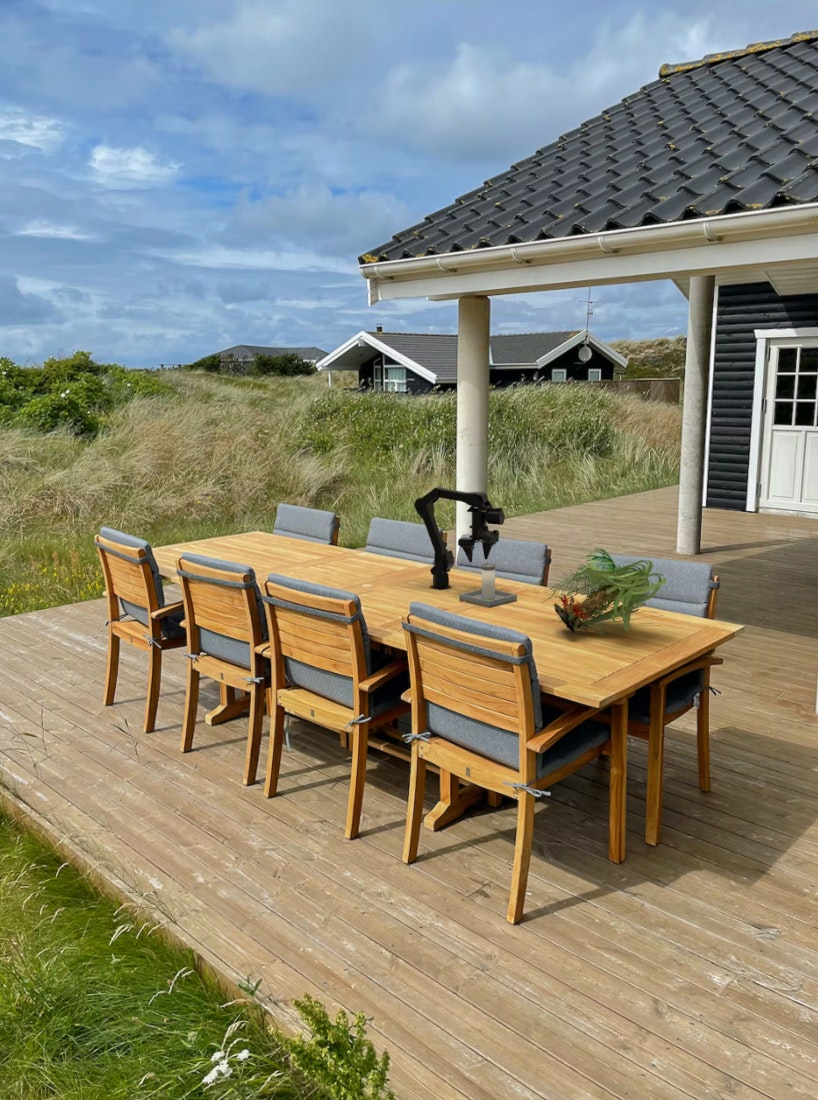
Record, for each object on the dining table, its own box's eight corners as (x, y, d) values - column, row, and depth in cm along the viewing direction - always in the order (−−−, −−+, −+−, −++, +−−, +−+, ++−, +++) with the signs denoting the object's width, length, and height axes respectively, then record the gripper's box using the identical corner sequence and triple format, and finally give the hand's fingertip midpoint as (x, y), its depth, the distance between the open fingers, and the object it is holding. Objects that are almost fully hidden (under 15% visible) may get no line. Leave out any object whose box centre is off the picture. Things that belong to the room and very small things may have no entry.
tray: (459, 600, 342) (459, 594, 342) (487, 593, 353) (487, 587, 352) (489, 607, 331) (489, 601, 330) (516, 600, 341) (516, 594, 341)
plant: (534, 594, 318) (632, 544, 316) (580, 678, 303) (683, 626, 302) (524, 562, 286) (633, 507, 284) (575, 654, 272) (690, 596, 270)
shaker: (479, 599, 340) (479, 565, 338) (483, 596, 345) (484, 563, 343) (492, 600, 338) (493, 566, 336) (496, 597, 343) (497, 564, 341)
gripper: (477, 528, 339) (477, 567, 342) (508, 522, 351) (508, 560, 354) (457, 524, 347) (457, 562, 350) (488, 519, 360) (488, 556, 363)
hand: (478, 560), depth 354 cm, fingers open, 9 cm apart
